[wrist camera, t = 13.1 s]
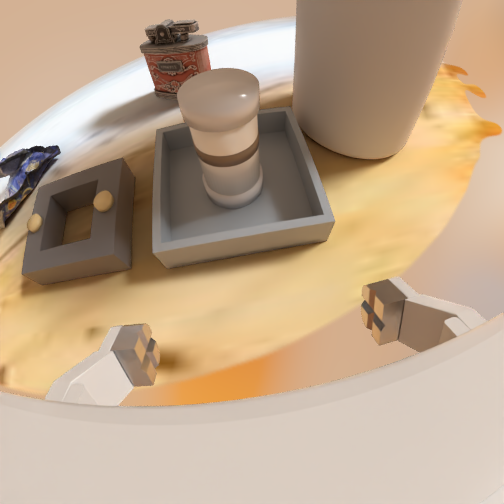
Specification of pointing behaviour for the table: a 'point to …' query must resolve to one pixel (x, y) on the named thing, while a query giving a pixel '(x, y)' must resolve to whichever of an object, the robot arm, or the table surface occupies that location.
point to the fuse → (225, 133)
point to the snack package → (23, 175)
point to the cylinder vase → (367, 70)
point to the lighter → (174, 55)
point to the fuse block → (102, 230)
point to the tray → (242, 219)
